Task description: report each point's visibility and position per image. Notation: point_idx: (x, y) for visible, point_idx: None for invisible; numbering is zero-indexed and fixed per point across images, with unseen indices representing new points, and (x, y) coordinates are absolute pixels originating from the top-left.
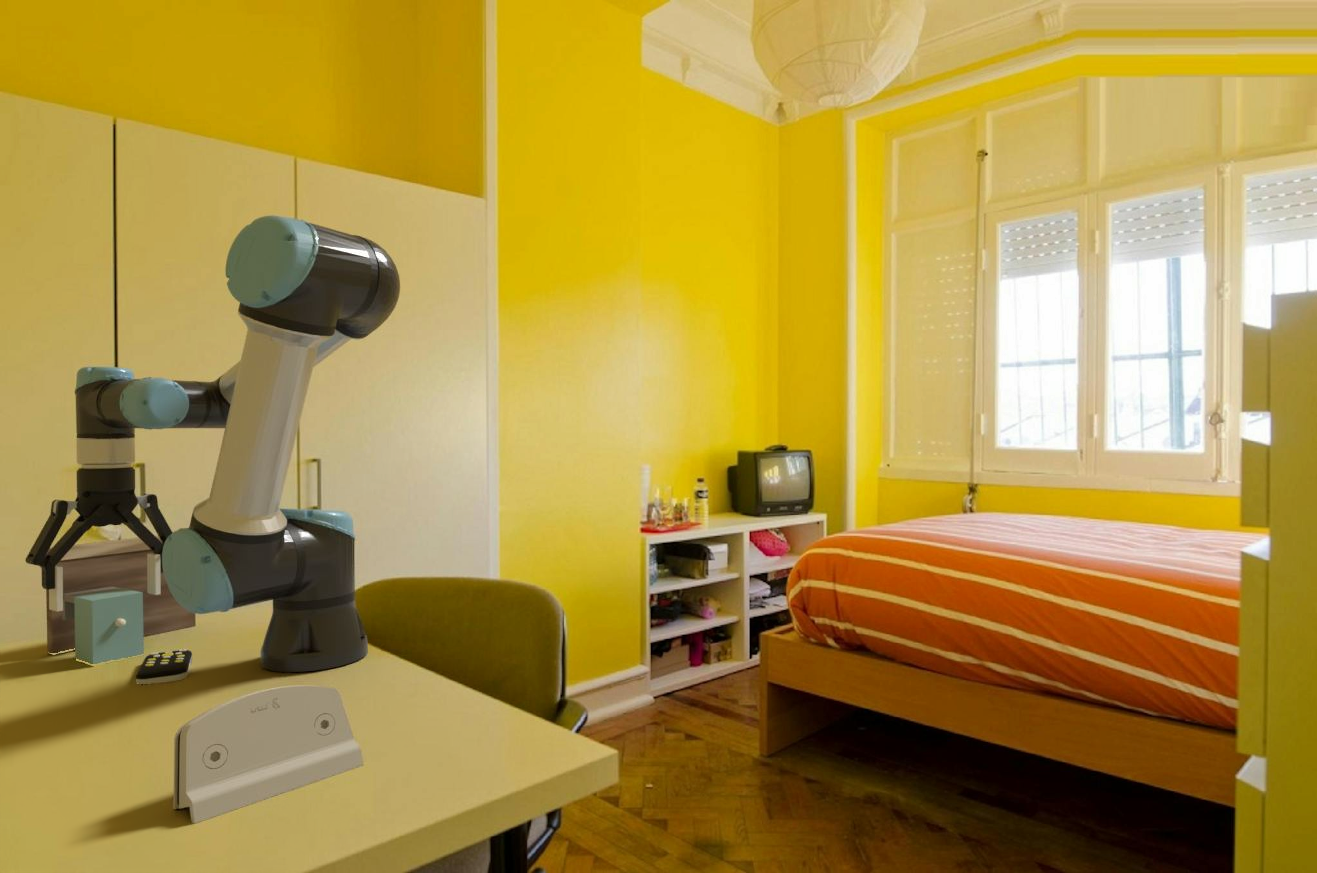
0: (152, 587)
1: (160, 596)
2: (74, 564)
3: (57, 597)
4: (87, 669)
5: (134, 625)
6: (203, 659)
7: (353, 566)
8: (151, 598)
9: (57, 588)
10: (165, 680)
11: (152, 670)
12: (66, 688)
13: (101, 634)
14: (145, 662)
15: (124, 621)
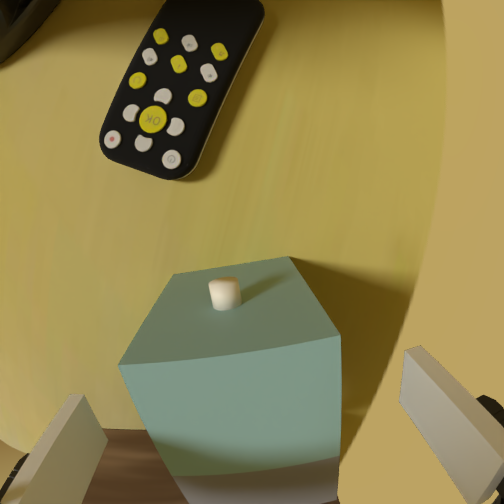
0: (84, 429)
1: (95, 484)
2: None
3: (446, 372)
4: (304, 241)
5: (178, 303)
6: (91, 114)
7: None
8: (113, 485)
9: (466, 392)
10: None
11: (230, 8)
12: (372, 107)
13: (279, 284)
14: (215, 88)
15: (212, 285)
